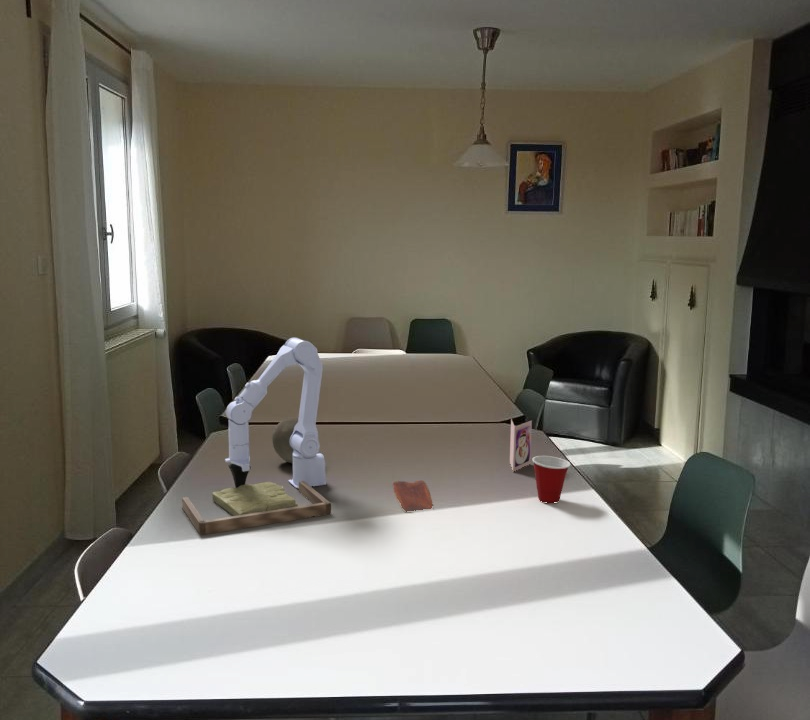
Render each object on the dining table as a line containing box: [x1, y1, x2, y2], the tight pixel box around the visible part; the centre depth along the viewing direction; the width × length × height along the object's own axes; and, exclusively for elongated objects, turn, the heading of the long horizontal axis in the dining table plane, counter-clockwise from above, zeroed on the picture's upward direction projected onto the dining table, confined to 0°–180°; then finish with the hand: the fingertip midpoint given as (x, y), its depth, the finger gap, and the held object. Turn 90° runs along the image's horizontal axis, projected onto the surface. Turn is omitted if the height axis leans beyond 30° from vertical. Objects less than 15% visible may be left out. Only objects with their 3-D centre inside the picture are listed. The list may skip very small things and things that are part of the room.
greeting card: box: [509, 418, 533, 473], centre depth 254 cm, size 11×7×15 cm, turn 143°
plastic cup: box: [531, 455, 572, 504], centre depth 222 cm, size 11×11×12 cm
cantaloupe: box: [271, 418, 298, 465], centre depth 255 cm, size 14×14×15 cm
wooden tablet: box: [392, 480, 434, 513], centre depth 225 cm, size 27×10×2 cm, turn 6°
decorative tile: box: [211, 481, 299, 516], centre depth 217 cm, size 18×20×4 cm
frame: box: [181, 481, 332, 536], centre depth 211 cm, size 35×22×3 cm, turn 117°
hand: (240, 488), depth 226 cm, fingers closed
